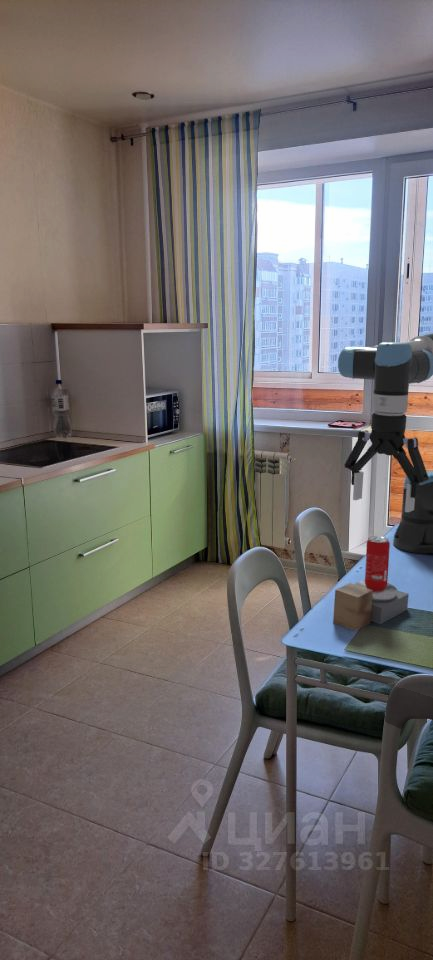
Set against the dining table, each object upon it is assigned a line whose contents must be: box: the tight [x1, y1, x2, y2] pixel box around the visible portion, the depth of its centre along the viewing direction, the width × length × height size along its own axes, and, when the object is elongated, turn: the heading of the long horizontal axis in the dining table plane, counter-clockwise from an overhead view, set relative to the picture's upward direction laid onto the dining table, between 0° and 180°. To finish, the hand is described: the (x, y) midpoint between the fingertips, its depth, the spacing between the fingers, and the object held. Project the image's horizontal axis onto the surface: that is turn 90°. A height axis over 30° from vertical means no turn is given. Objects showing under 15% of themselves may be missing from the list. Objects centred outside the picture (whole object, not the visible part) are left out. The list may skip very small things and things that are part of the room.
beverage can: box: [364, 535, 391, 591], centre depth 164 cm, size 5×5×12 cm
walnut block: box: [332, 582, 373, 632], centre depth 158 cm, size 6×6×8 cm
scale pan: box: [354, 580, 398, 602], centre depth 165 cm, size 10×10×2 cm
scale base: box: [370, 589, 409, 625], centre depth 166 cm, size 12×11×4 cm
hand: (382, 505), depth 161 cm, fingers open, 13 cm apart
